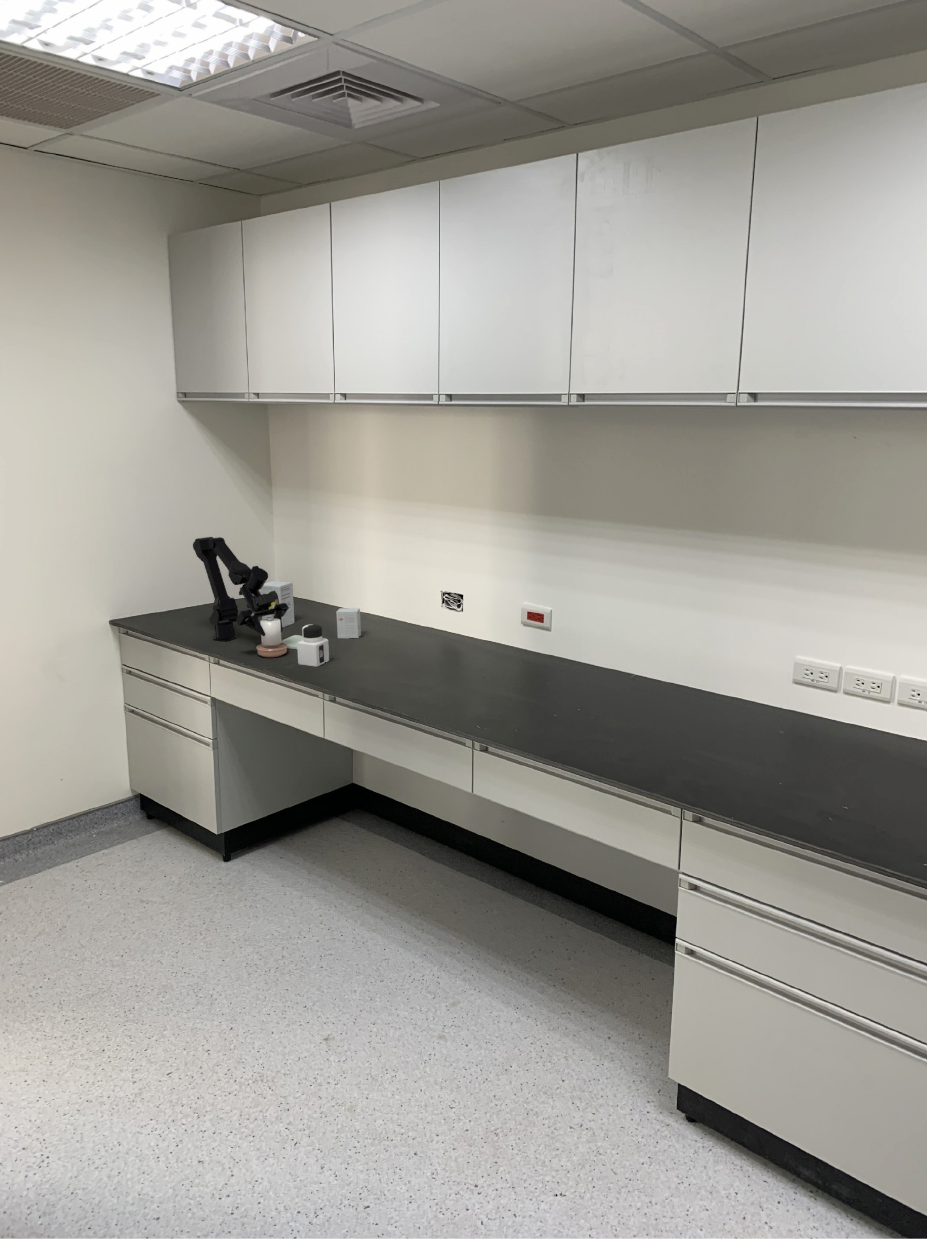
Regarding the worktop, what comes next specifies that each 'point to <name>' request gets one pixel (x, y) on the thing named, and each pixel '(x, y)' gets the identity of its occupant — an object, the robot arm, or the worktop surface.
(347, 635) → the small box
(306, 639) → the container
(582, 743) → the worktop surface
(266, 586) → the supplement box
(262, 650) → the bowl
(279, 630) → the bottle
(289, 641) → the mat
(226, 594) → the robot arm
